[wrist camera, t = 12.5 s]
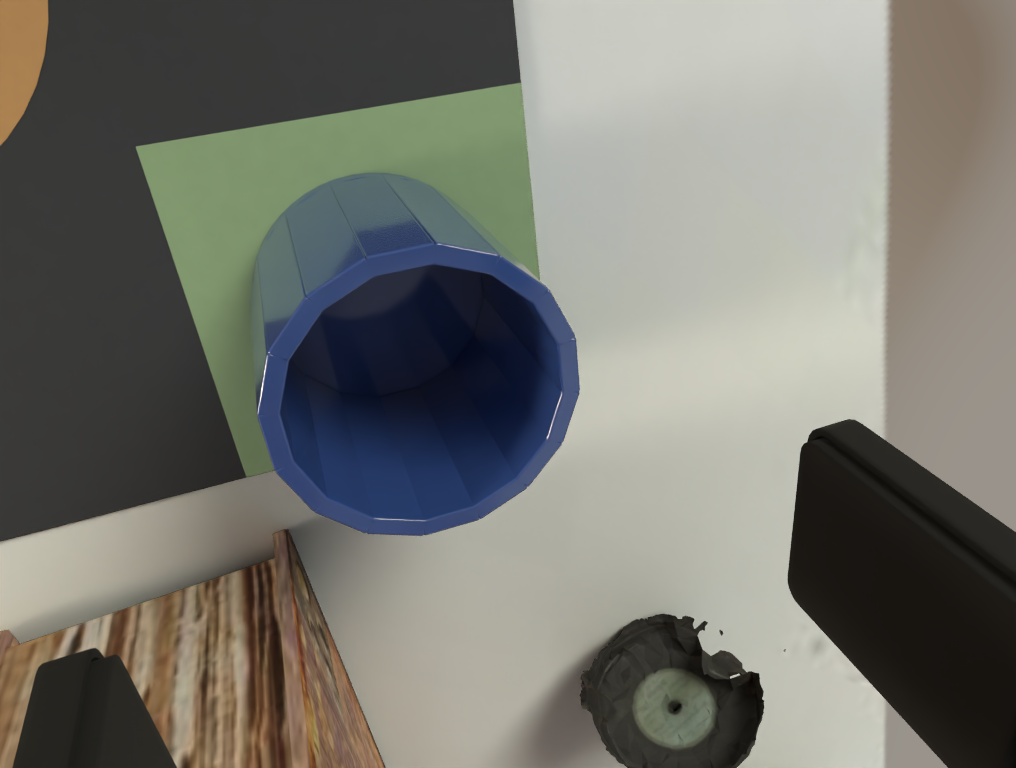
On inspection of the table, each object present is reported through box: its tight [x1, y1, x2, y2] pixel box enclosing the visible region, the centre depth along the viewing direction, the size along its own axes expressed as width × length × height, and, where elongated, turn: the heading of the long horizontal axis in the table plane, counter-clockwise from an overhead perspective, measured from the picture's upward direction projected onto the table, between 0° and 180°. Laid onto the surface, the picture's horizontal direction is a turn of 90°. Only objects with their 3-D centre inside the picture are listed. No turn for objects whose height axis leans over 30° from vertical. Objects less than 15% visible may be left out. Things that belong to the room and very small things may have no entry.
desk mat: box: [0, 0, 540, 541], centre depth 18 cm, size 22×22×1 cm
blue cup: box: [250, 173, 580, 536], centre depth 20 cm, size 7×7×7 cm
